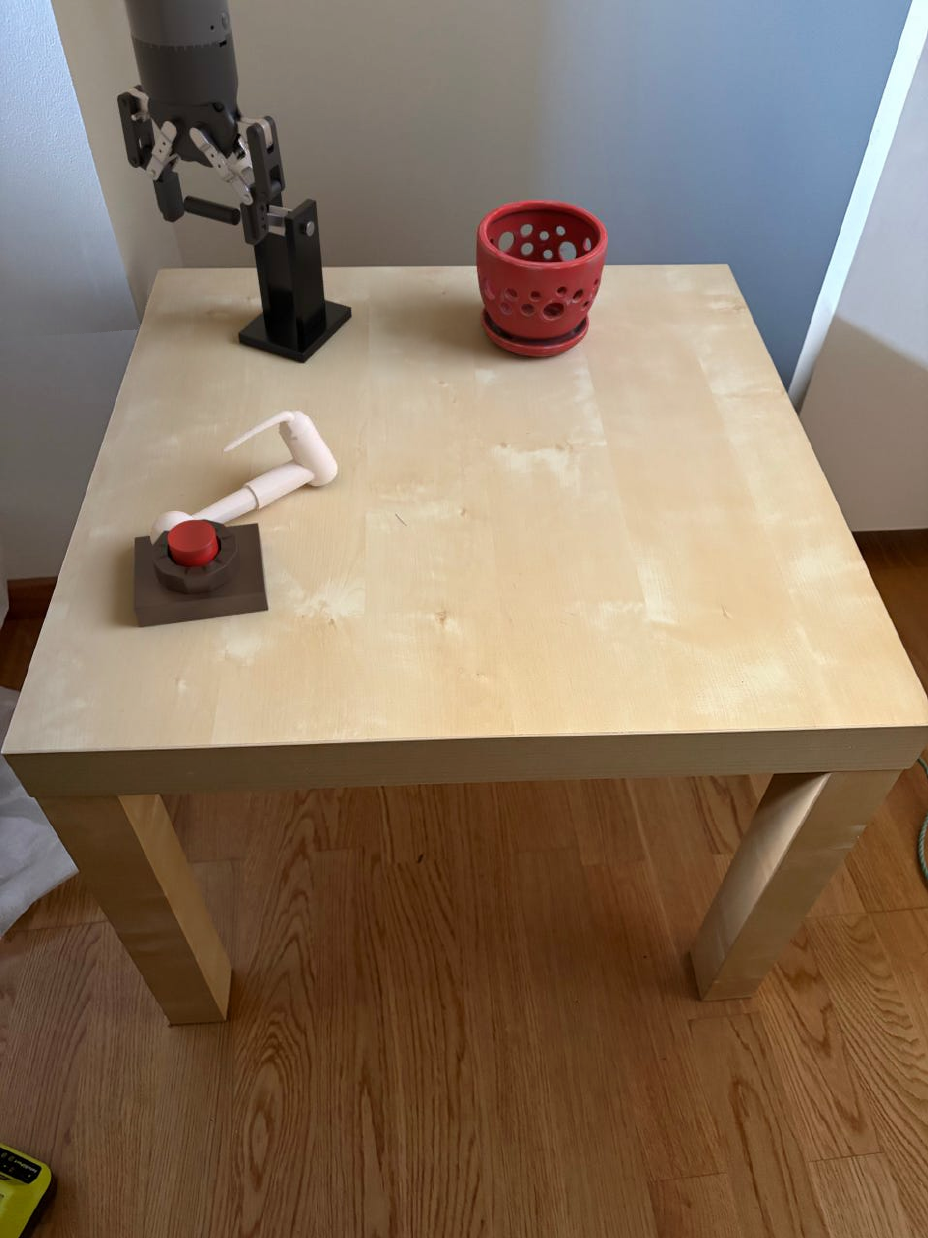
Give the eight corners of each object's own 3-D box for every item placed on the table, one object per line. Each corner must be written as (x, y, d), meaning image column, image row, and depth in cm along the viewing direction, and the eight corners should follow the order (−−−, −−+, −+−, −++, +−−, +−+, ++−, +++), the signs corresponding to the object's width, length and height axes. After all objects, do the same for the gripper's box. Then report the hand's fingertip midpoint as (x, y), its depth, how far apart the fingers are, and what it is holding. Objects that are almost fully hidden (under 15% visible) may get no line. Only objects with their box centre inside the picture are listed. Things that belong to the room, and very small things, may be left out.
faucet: (174, 580, 85) (116, 518, 76) (319, 448, 88) (279, 376, 80) (200, 605, 83) (144, 545, 74) (347, 470, 86) (309, 398, 78)
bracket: (304, 363, 99) (290, 235, 89) (238, 343, 101) (217, 215, 91) (352, 316, 105) (344, 191, 95) (289, 298, 108) (275, 174, 97)
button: (172, 570, 75) (167, 554, 73) (171, 538, 77) (167, 522, 76) (219, 564, 75) (215, 548, 74) (217, 532, 77) (213, 516, 76)
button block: (139, 627, 75) (127, 592, 72) (140, 556, 80) (129, 520, 77) (268, 610, 77) (262, 575, 74) (261, 541, 82) (255, 506, 79)
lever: (229, 230, 83) (233, 201, 82) (181, 217, 84) (184, 188, 83) (311, 241, 95) (315, 215, 95) (268, 229, 97) (272, 204, 96)
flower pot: (460, 308, 107) (463, 202, 98) (572, 297, 110) (585, 193, 101) (489, 376, 99) (495, 267, 90) (610, 362, 101) (628, 254, 92)
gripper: (71, 21, 72) (122, 229, 85) (231, 56, 69) (260, 268, 81) (134, -7, 77) (174, 194, 89) (287, 25, 73) (306, 230, 86)
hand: (215, 229), depth 85 cm, fingers open, 8 cm apart
